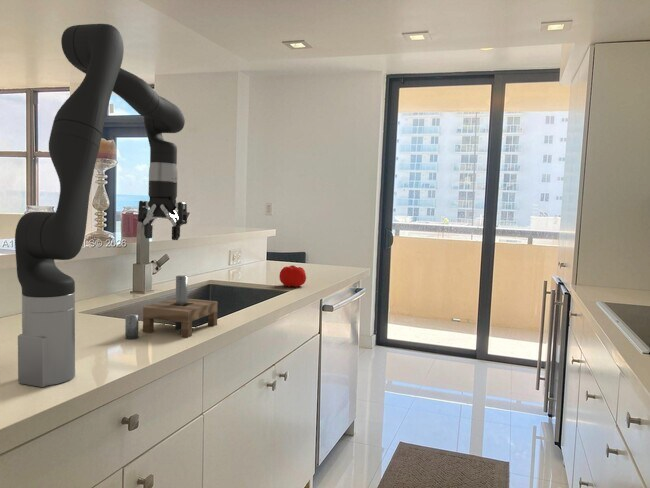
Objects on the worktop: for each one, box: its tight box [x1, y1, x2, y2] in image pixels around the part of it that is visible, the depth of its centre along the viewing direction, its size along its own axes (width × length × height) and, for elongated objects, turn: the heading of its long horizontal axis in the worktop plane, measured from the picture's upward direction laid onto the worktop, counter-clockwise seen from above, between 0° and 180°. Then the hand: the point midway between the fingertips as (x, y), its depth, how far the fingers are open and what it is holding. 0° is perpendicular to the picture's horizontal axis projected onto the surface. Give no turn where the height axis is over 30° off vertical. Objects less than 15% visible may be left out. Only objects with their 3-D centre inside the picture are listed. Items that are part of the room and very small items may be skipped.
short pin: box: [124, 313, 139, 340], centre depth 134 cm, size 3×3×6 cm
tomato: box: [278, 264, 307, 288], centre depth 227 cm, size 11×12×9 cm
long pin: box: [174, 275, 189, 330], centre depth 145 cm, size 3×3×15 cm
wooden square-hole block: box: [142, 297, 219, 338], centre depth 146 cm, size 16×14×7 cm
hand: (161, 239), depth 141 cm, fingers open, 8 cm apart
